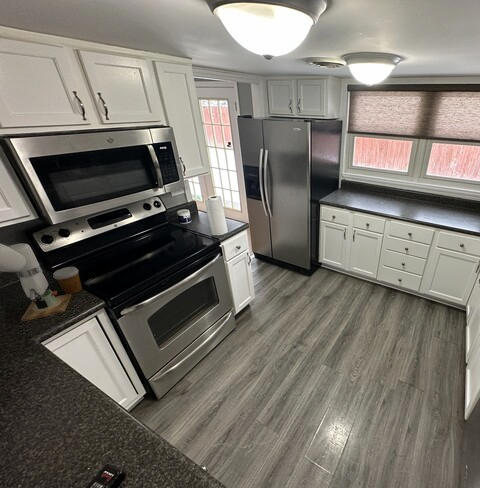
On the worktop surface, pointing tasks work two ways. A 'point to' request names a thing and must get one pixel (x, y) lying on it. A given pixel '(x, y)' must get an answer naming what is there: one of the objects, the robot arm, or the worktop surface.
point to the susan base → (58, 309)
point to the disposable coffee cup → (68, 279)
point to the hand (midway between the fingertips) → (46, 303)
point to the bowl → (48, 301)
